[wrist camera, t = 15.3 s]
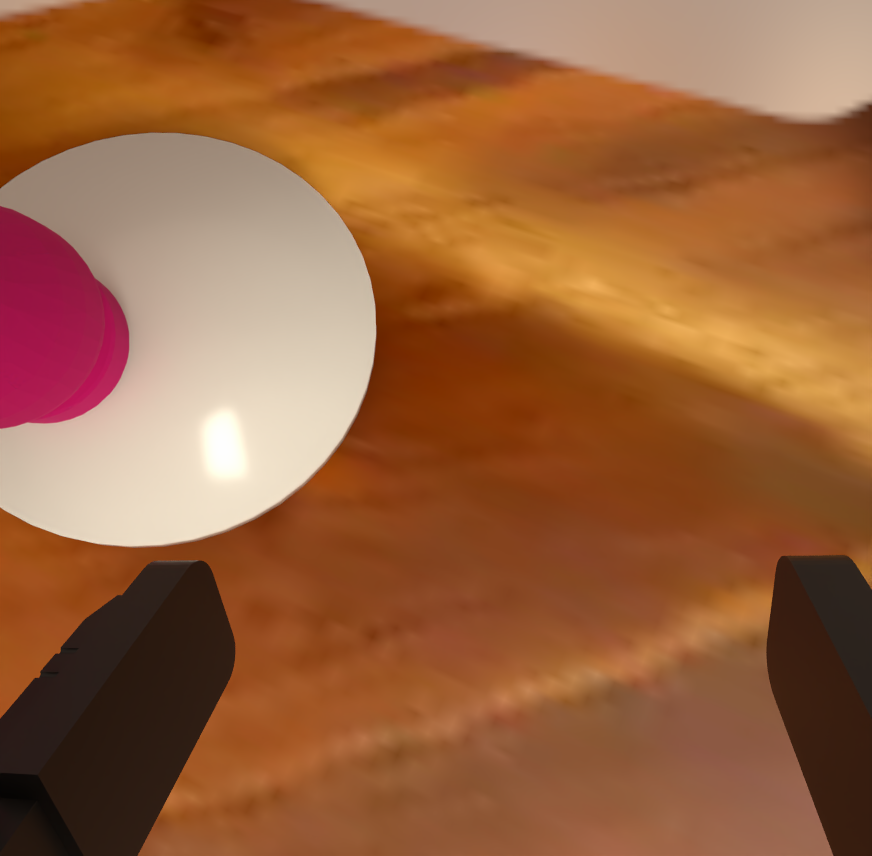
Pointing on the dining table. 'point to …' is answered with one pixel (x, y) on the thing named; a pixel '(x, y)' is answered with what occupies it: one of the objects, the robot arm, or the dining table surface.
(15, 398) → the pepper mill
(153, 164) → the plate
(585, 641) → the dining table surface
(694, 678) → the dining table surface
